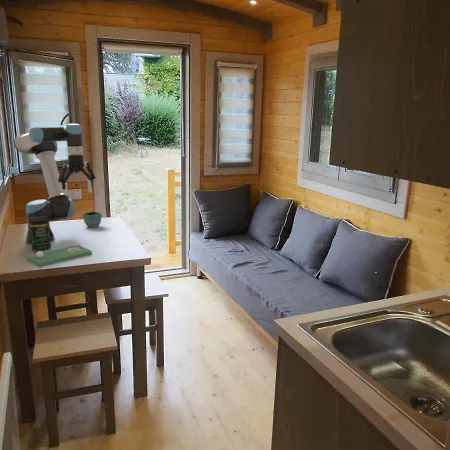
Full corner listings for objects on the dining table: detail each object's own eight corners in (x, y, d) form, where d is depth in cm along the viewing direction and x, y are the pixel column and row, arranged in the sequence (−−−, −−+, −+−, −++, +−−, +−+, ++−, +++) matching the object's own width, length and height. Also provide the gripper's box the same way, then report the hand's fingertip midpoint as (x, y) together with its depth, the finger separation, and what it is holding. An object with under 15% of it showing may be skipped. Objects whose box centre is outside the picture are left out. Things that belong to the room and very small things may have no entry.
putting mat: (27, 259, 219) (26, 255, 218) (78, 247, 237) (78, 244, 237) (38, 267, 208) (38, 263, 208) (91, 254, 227) (91, 250, 227)
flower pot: (92, 229, 274) (91, 215, 272) (83, 227, 279) (82, 213, 277) (102, 226, 281) (101, 213, 279) (93, 224, 286) (92, 211, 284)
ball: (35, 257, 216) (34, 251, 215) (42, 256, 218) (41, 249, 217) (38, 259, 213) (37, 252, 212) (45, 257, 216) (44, 251, 215)
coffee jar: (32, 252, 229) (28, 219, 224) (31, 248, 236) (27, 215, 231) (51, 250, 233) (48, 217, 228) (50, 246, 240) (47, 214, 235)
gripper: (55, 156, 214) (58, 197, 220) (100, 153, 231) (102, 191, 237) (49, 154, 219) (52, 195, 225) (93, 151, 236) (95, 189, 242)
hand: (78, 193), depth 231 cm, fingers open, 13 cm apart
